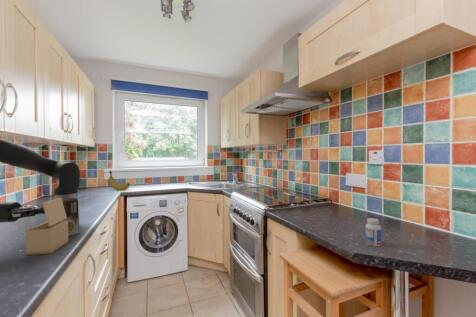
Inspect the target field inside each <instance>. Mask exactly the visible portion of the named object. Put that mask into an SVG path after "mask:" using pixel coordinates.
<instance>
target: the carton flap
mask: <svg viewBox="0 0 476 317" xmlns="http://www.w3.org/2000/svg"><path fill="white" fill-rule="evenodd" d="M41 205H43V207H44V211H45V217H46V222H48V225H49V226H51V225H53V224H55V223H58V222H60V221H62V220H64V219H66V218H67V216H66V213H65V209H64V205H63V202H62V198H61V197H60V198H57V199H55V198H54V199H51V200H48V201H45V202H44V201H43V202H42V204H41Z"/></svg>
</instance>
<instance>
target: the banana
mask: <svg viewBox="0 0 476 317" xmlns="http://www.w3.org/2000/svg"><path fill="white" fill-rule="evenodd" d="M109 174H110V176H109V177H108V180H107V181H108V185H109V186H110V187H111V188H113V189H114V190H116V191H124V190H127V189H129V187H130V182H129V183H128V182H127V183H123V184H121V183H118V181H117V180H116V179H115V178H114V176H113V172H112V171H111V170H109Z"/></svg>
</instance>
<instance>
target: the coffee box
mask: <svg viewBox="0 0 476 317" xmlns="http://www.w3.org/2000/svg"><path fill="white" fill-rule="evenodd" d="M62 202H63V205H64V209H65V213H66V216H67V218H66V219H64V220H62V221H68V237H70V236H74V235H78V234H80V213H79V211H80V210H79V198H78V199H76V198H70V199H63V200H62Z"/></svg>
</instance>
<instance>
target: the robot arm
mask: <svg viewBox="0 0 476 317" xmlns="http://www.w3.org/2000/svg"><path fill="white" fill-rule="evenodd" d="M0 163H2V164H5V165H8V166H13V167H15V168H16V167H17V168H21V169H24V170H30V171H34V172H38V173H41V174H43V175H46V176H49V177H51V178H53V179H56V180H58V186H57V187H56V188H55V189H54V199H57V198H60V197H61V198H62V200H63V199H70V198H76V199H78V200H79V193H78V192H79V188H80V182H81V180H80V179H81V173H80V172H81V171H80V167H79V165H78V164H77V163H76V162H72V161H58V160H56V159H51V158H48V157H45V156H43V155H42V154H40V153H38V152H36V151H35V150H34V149H31V148H29V147H27V146H25V145H23V144H19V143H17V142H13V141H10V140H8V139H3V138H0ZM44 214H45V211H44V207H43V204H38V203H37V204H35V205H30V204H29V205H26V204H25V205H22V204H21V203H20V202H17V201H10V202H9V201H8V202H0V224H1V223H3V224H4V223H14V222H18V220H19V219H22V218H23V219H24V218H28V217H34V216H35V217H36V216H39V215H44ZM45 215H46V214H45Z"/></svg>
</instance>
